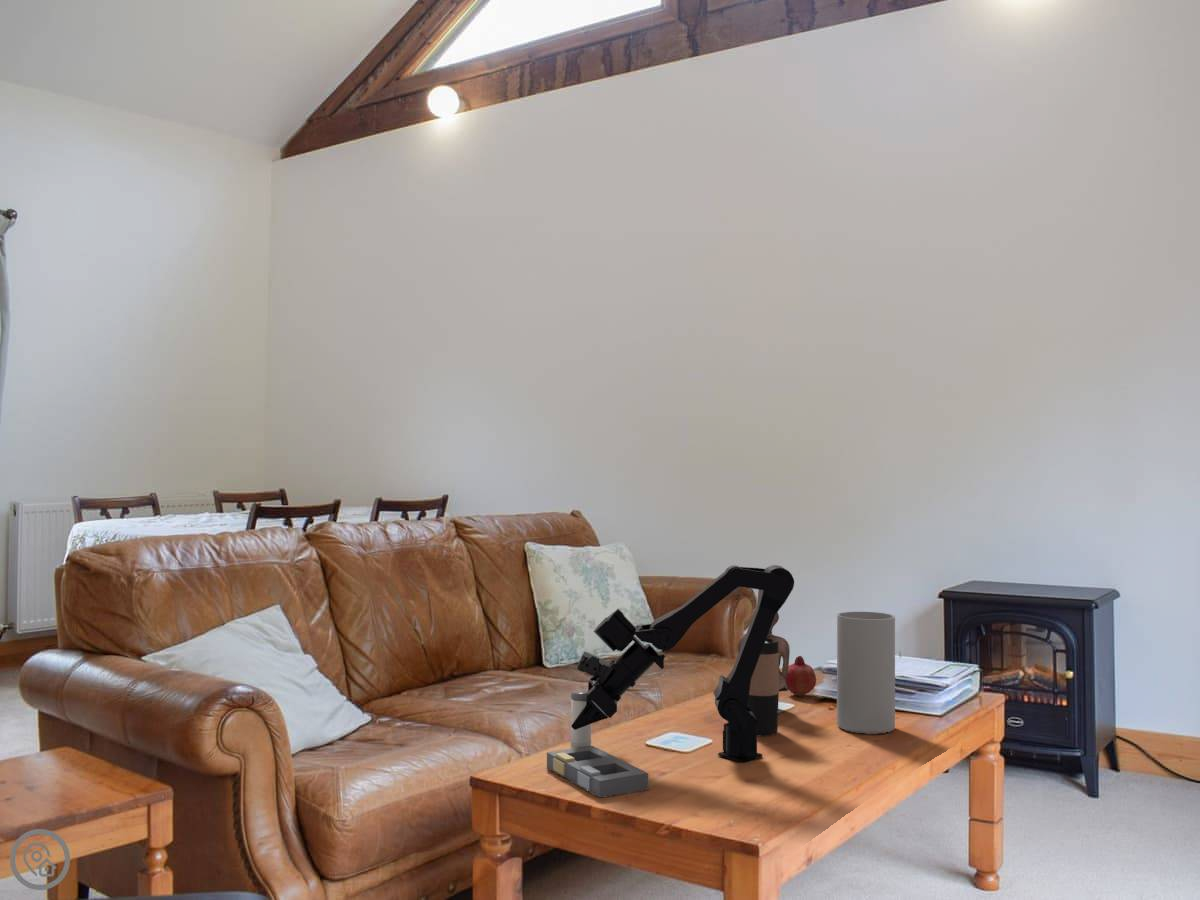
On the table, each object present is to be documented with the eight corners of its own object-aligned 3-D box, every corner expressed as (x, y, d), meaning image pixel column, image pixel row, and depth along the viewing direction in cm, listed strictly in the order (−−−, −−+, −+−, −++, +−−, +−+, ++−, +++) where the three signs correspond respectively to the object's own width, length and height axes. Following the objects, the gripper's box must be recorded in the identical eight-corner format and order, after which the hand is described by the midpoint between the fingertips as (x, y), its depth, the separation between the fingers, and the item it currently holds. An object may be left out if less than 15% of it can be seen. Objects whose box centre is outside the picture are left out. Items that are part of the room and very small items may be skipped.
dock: (648, 789, 192) (648, 770, 192) (597, 798, 187) (597, 778, 187) (592, 761, 210) (592, 743, 210) (545, 768, 205) (545, 749, 205)
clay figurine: (730, 711, 253) (730, 605, 253) (743, 702, 262) (743, 600, 262) (784, 717, 247) (784, 609, 248) (795, 708, 256) (795, 603, 257)
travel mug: (739, 734, 232) (739, 641, 232) (748, 726, 239) (748, 636, 239) (774, 737, 229) (774, 644, 229) (782, 729, 236) (782, 638, 236)
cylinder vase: (874, 719, 245) (874, 610, 246) (906, 732, 234) (906, 618, 234) (826, 723, 241) (826, 612, 242) (856, 737, 230) (856, 620, 230)
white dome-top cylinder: (595, 755, 214) (595, 693, 214) (578, 759, 212) (579, 695, 212) (582, 751, 217) (583, 689, 218) (566, 754, 215) (567, 692, 215)
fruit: (819, 699, 266) (819, 659, 267) (786, 699, 266) (786, 659, 266) (812, 692, 275) (812, 653, 275) (780, 692, 274) (780, 653, 274)
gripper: (601, 631, 224) (548, 684, 224) (599, 647, 205) (542, 704, 205) (639, 669, 224) (586, 722, 224) (640, 688, 205) (583, 745, 205)
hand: (573, 722), depth 215 cm, fingers open, 9 cm apart
